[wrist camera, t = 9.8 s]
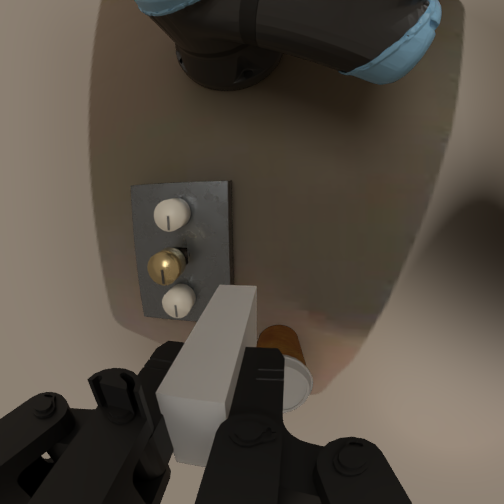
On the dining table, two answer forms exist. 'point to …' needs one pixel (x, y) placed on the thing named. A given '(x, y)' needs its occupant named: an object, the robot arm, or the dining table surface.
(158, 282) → the brass pot knob
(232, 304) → the robot arm
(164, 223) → the knob
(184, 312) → the knob
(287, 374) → the disposable coffee cup
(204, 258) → the mount panel
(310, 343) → the dining table surface
